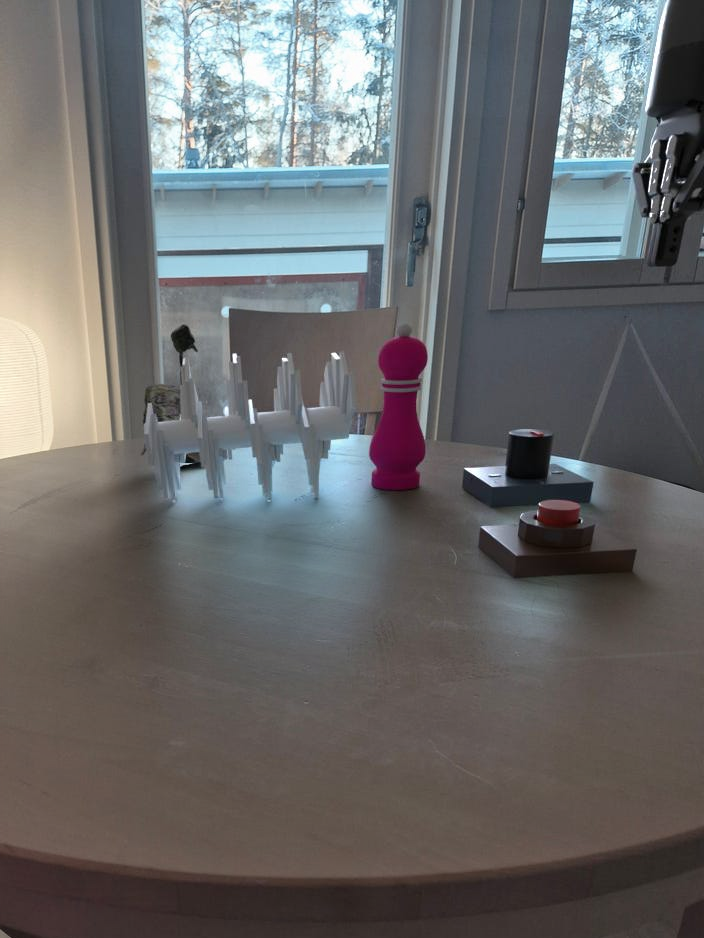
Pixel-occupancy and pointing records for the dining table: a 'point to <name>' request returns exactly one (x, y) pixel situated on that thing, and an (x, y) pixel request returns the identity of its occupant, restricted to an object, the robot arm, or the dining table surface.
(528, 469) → the dial
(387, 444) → the pepper mill
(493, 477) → the panel
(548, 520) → the button
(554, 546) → the switch block
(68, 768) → the dining table surface
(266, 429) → the spiral staircase
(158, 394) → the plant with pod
